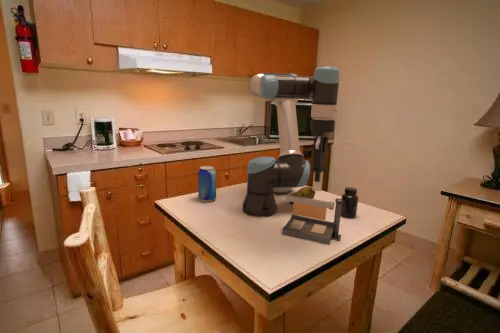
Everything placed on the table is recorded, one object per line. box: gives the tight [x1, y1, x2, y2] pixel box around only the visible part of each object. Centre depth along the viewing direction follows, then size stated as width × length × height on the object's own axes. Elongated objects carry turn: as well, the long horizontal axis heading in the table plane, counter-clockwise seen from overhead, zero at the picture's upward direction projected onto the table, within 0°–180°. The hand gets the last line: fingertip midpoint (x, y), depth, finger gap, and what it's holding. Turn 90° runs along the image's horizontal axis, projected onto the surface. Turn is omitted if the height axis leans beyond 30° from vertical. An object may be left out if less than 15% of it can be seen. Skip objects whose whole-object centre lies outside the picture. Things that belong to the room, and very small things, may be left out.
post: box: [331, 198, 343, 242], centre depth 100 cm, size 4×4×15 cm
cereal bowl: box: [274, 187, 294, 194], centre depth 152 cm, size 17×17×7 cm
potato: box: [288, 185, 316, 204], centre depth 135 cm, size 8×13×8 cm, turn 83°
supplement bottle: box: [340, 186, 359, 219], centre depth 121 cm, size 7×7×12 cm
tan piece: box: [285, 194, 335, 221], centre depth 104 cm, size 18×2×7 cm, turn 66°
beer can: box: [197, 165, 217, 203], centre depth 134 cm, size 8×8×16 cm
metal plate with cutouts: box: [281, 213, 334, 246], centre depth 106 cm, size 17×12×3 cm
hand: (316, 190), depth 95 cm, fingers closed
